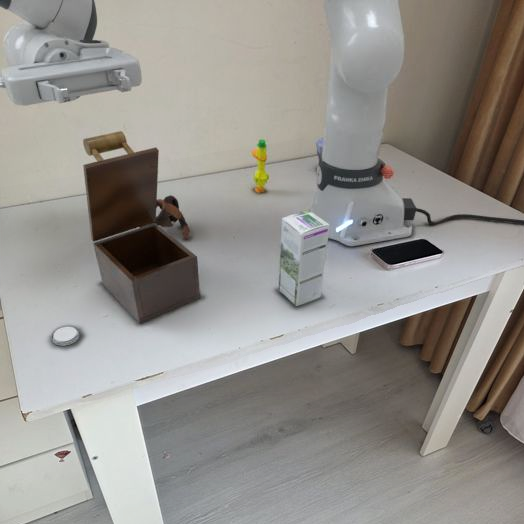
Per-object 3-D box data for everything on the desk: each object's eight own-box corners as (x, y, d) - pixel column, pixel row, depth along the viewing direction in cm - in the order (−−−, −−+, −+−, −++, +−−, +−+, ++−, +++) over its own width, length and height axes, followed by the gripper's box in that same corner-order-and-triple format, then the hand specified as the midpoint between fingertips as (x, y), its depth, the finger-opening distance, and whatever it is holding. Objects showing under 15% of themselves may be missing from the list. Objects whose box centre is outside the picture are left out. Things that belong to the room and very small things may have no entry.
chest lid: (158, 150, 74) (136, 123, 77) (85, 168, 69) (63, 139, 71) (156, 221, 86) (136, 197, 89) (93, 242, 81) (74, 215, 83)
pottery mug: (189, 249, 97) (165, 220, 91) (152, 261, 101) (126, 234, 95) (198, 208, 103) (176, 178, 97) (163, 221, 107) (139, 193, 101)
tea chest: (200, 297, 85) (197, 256, 79) (139, 323, 79) (131, 281, 74) (160, 262, 93) (155, 222, 87) (102, 284, 87) (92, 242, 81)
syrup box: (322, 297, 86) (332, 223, 76) (294, 308, 83) (301, 232, 73) (303, 281, 89) (310, 208, 79) (276, 291, 87) (280, 216, 77)
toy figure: (246, 186, 118) (246, 135, 110) (259, 183, 119) (261, 133, 111) (258, 197, 114) (260, 145, 105) (272, 194, 115) (274, 143, 107)
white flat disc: (54, 348, 74) (53, 345, 74) (51, 332, 77) (50, 329, 76) (81, 341, 76) (80, 338, 75) (77, 326, 78) (76, 323, 78)
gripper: (-18, 54, 70) (15, 76, 62) (113, 39, 80) (155, 56, 72) (-3, 102, 74) (29, 128, 67) (120, 81, 84) (160, 102, 76)
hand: (96, 90), depth 69 cm, fingers open, 8 cm apart
